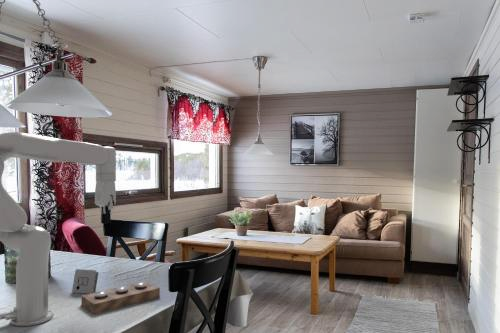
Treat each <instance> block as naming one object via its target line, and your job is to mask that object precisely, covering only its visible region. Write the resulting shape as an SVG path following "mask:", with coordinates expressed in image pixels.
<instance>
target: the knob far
mask: <svg viewBox="0 0 500 333" xmlns="http://www.w3.org/2000/svg"><path fill="white" fill-rule="evenodd" d="M146 282H147V281H145V282H144V281H140V282H139V281H138V282H136V283H134V284H135V288H136V289H143V288H146Z"/></svg>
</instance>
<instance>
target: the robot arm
mask: <svg viewBox="0 0 500 333" xmlns="http://www.w3.org/2000/svg"><path fill="white" fill-rule="evenodd" d="M10 158H16V159H17V158H18V159H26V160H33V161H42V162H50V163H51V162H52V163H77V164H79V165H81V166H95V187H94V188H95V190H94V204H95V206H97V207H99V209H100V223H101V225H102V224H103V225H107V224H111V222H112V220H111V218H112V217H111V215H112V210H114V206H115V205H116V202H117V201H116V200H117V196H116V195H117V194H116V192H117V191H116V180H117V178H116V176H117V167H116V166H117V164H116V163H117V161H116V159H117V151H116V148H115V147H112V146H102V145H100V144H95V143H90V142H82V141H78V140H69V139H64V138H63V139H62V138H56V137H50V136H43V135H38V134H33V133H26V132H19V131H12V132H3V133H0V242H1V244H3V245H4V246H5V247H6V248H8V249H9V250H11V251H14V252H18V258H17V261H16V266H15V290H16V291H15V294H16V295H15V306H14V307H13V309H11V310H9V311H8V312H1V313H0V321H2V320H5V321H9V320H10V324H12V325H13V326H17V327H30V326H35V325H39V324H40V325H41V324H42V323H46V322H48V321H49V320H51V319H52V318H53V317H54V312H53V310H52V309H49V256H50V251H51V247H52V246H51V245H52V238H51V235H50V233H49V231H47V229H45V228H44V227H42V226H39V225H32V224H27V223H28V214H27V213H26V210H25V209H24V208H22V206H21V205H20V204H19V203H18V202H17V201H16V200H15V199H14V198H13V197H12V196H11V195H10V194H9V192H7V190H6V189H5V187H4V186H3V182H2V179H3V178H2V177H3V175H4V170H5V162H6V161H7V160H9V159H10Z"/></svg>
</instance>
